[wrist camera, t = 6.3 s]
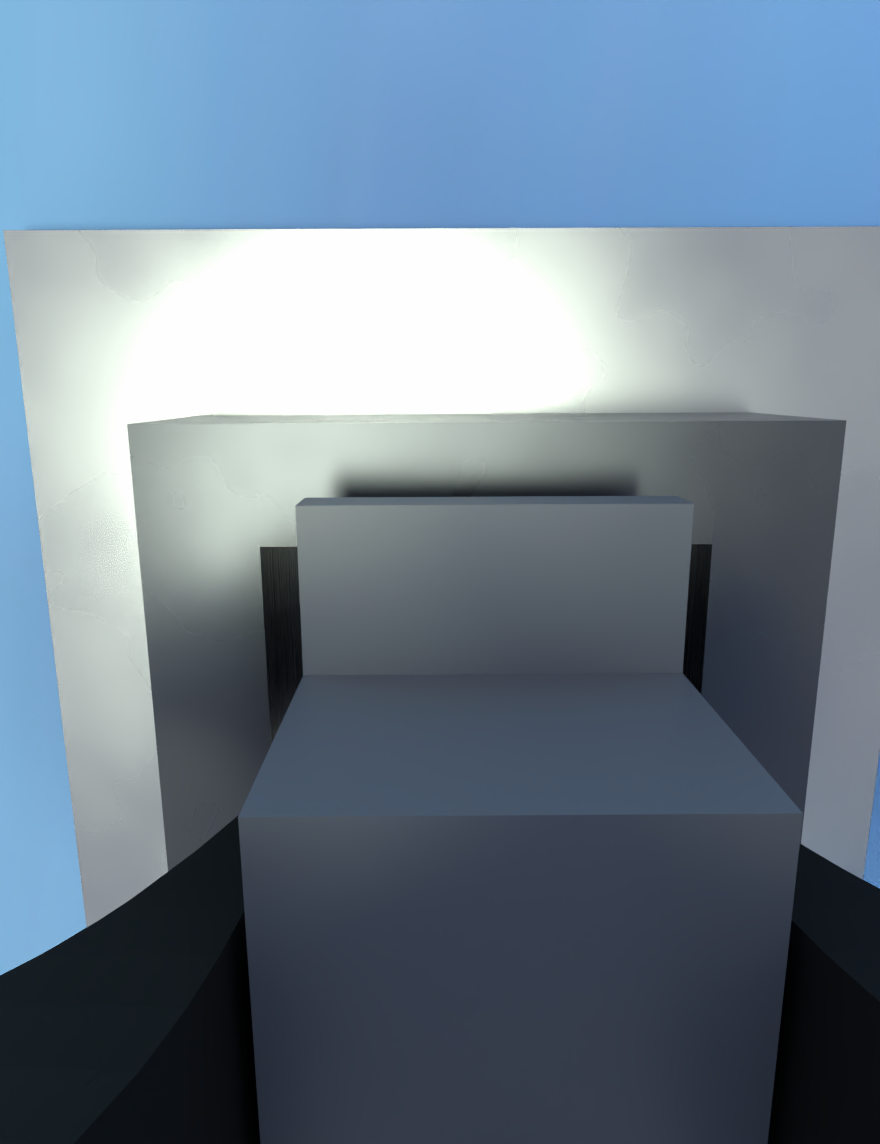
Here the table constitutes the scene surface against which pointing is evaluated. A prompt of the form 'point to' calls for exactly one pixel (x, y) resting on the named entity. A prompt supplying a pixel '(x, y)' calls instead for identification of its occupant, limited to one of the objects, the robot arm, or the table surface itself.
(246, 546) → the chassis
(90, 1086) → the robot arm
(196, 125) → the table surface
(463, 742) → the servo
